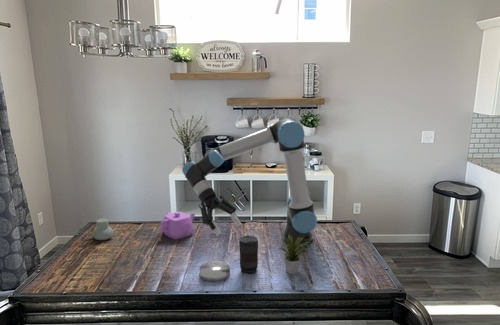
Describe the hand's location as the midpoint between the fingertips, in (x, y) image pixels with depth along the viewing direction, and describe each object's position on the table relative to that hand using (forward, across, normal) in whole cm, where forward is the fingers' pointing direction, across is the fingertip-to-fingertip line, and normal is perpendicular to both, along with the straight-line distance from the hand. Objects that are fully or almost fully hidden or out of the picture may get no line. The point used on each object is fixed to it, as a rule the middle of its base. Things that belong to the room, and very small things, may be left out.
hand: (229, 230), depth 168 cm
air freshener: (-39, +19, -63) cm, 76 cm away
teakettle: (-20, -10, -44) cm, 49 cm away
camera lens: (+19, 0, -4) cm, 20 cm away
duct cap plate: (+12, +11, -11) cm, 20 cm away
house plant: (+30, -10, +7) cm, 33 cm away
